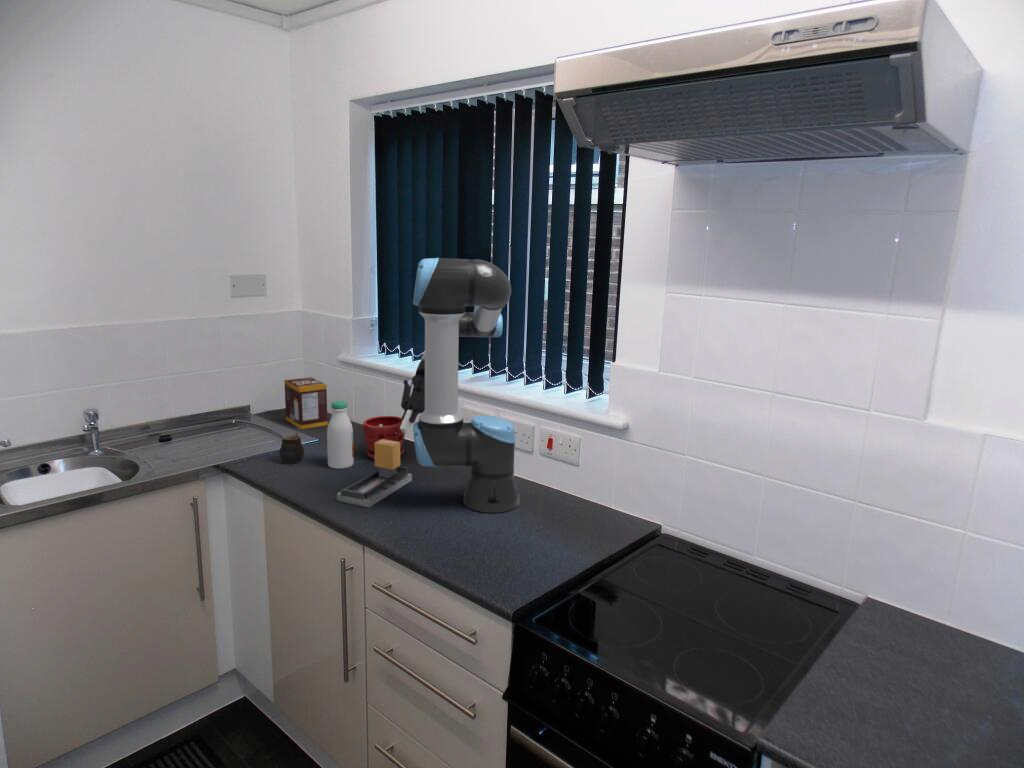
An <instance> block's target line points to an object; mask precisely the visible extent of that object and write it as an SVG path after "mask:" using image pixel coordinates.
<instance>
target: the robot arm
mask: <svg viewBox="0 0 1024 768" xmlns="http://www.w3.org/2000/svg"><path fill="white" fill-rule="evenodd" d="M415 276H416V277H415V282H414V292H413V301H412V304H413V305H414V306H417V307H418V313H419V314H420V316H422V318H423V319H424V352H423V353H422V356H421V359H420V361H419V362H418V366H417V367H416V369H415V375H414V376H412V378H411V379H409V380H407V379H405V380H403V385H404V387H403V392H402V398H401V403H400V407H401V408H402V410H403V415H402V416H401V418H402V420H403V422H402V424H401V426H400V430H401V431H402V432H403V433H405V434H408V433H409V430H410V428H411V426H413V427H412V428H413V429H412V430H413V442H414V443H413V444H414V450H415V456H416V460H417V462H418V464H419V465H421V466H422V467H431V468H434V469H435V468H446V467H447V468H448V467H449V468H452V467H454V468H455V467H470V475H469V478H468V481H467V484H466V487H465V489H464V492H463V503H464V505H465V506H466V507H467V508H469V510H473V511H477V512H481V513H487V514H488V513H492V514H494V513H498V514H499V513H504V512H509V511H511V510H514V509H516V508H517V507H518V506H519V505H520V491H519V490H518V487H517V482H516V478H515V475H514V474H515V473H514V472H515V448H516V447H515V443H516V441H517V440H516V429H515V426H514V424H513V423H512V422H510V421H509V420H507V419H504V418H502V417H498V416H494V415H487V414H486V415H485V414H484V415H483V414H482V415H474V416H473V417H472V418H471V420H470V422H464V415H463V414H462V413H461V412H460V411H459V410H458V409H459V408H458V407H459V406H458V405H459V403H458V402H459V401H458V400H459V399H458V398H459V342H460V341H459V337H463V338H464V337H465V338H466V337H467V338H468V337H471V338H489V339H491V338H500V337H501V336H503V335H502V334H503V327H504V325H503V324H504V322H503V320H504V319H503V315H502V314H501V313H502V309H503V308H505V306H506V305H508V303H509V300H510V298H511V295H512V285H511V282H510V280H509V278H508V276H507V275H506V273H504V271H503V270H502V269H500V268H499V267H498V266H497V265H495V264H493V263H492V262H490V261H487V260H484V259H476V258H475V259H467V258H463V259H462V258H442V257H441V258H440V257H436V258H435V257H434V258H431V257H430V258H423V259H421V260H420V261H419V262H418V265H417V270H416V275H415ZM466 307H474V309H473V312H470V311H469V312H468V311H467V312H466ZM417 417H418V421H416V420H417ZM412 424H413V425H412Z"/></svg>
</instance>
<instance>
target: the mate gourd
mask: <svg viewBox="0 0 1024 768" xmlns="http://www.w3.org/2000/svg"><path fill="white" fill-rule="evenodd" d="M300 430H301V429H300V428H298V427H297V430H296V432H295V434H288V435H284V436H281V445H280V448H279V452H278V453H279V457H280V460H281V461H282V462H283V463H284V464H289V465H291V464H293V465H294V464H298V463H300V461H302V460H303V458H304V454H305V450H304V446H303V444H302V440H301V436H300V435H299V431H300Z"/></svg>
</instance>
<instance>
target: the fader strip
mask: <svg viewBox="0 0 1024 768" xmlns="http://www.w3.org/2000/svg"><path fill="white" fill-rule="evenodd" d="M412 480H413V473H409V467H405V466H401V465H400V466H398V467H397V474H395V475H394V476H392V477H390V478H386V477H380V476H379V469H377V470H375V471H373V472H372V473H369V474H368V475H366V476H365V477H362V478H361V479H359V480H357V481H355V482H354V483H352V484H350V485H348V486H347V487H345V488H341V489H340V492H338V493H336V501H337V502H341V503H346V504H350V505H356V506H358V507H359V506H360V507H365V508H368V509H369V508H371V507H373V505H375V504H377V503H378V502H381V501H382V500H383V499H385V498H386V497H388V496H390V495H391V494H393V493H394V492H396V491H398V490H399V489H401V488H402V487H404V486H405V485H407V484H408V483H410V482H412Z"/></svg>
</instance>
